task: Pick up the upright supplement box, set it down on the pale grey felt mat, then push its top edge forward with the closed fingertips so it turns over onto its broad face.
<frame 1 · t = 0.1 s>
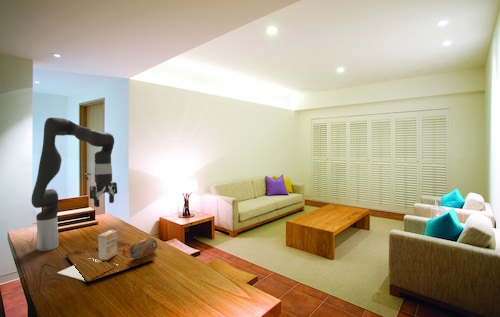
hand: (104, 204, 129), 29 cm above the table, fingers open, 8 cm apart
tin: (143, 256, 137), on the table
felt mat: (89, 269, 122), on the table
supplement box: (108, 257, 135), on the table
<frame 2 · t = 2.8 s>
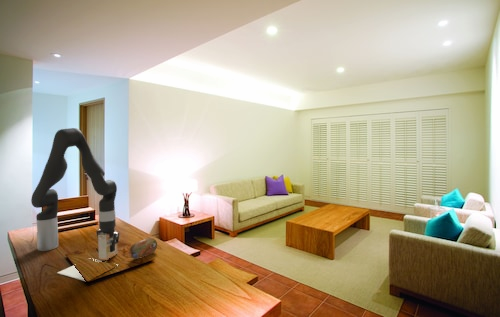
hand: (108, 250, 135), 3 cm above the table, fingers closed on supplement box, 5 cm apart
supplement box: (108, 257, 135), on the table, touching gripper
everything else where it was.
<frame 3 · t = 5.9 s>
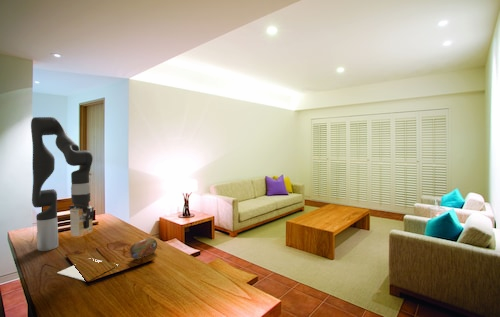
hand: (82, 227, 124), 19 cm above the table, fingers closed on supplement box, 5 cm apart
supplement box: (82, 234, 124), point 16 cm above the table, touching gripper
everything else where it was.
when the fingers open (5 cm above the table, at t = 8.8 s): supplement box stays where it is, resting on felt mat.
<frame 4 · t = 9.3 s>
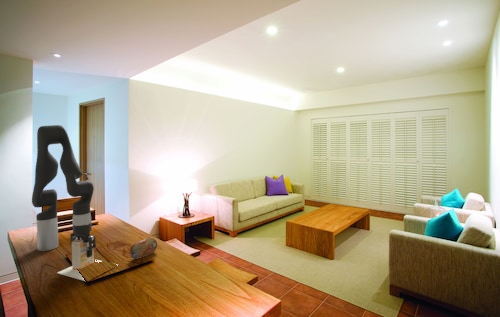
hand: (83, 255, 124), 5 cm above the table, fingers open, 8 cm apart
supplement box: (83, 266, 125), resting on felt mat
everything else where it was.
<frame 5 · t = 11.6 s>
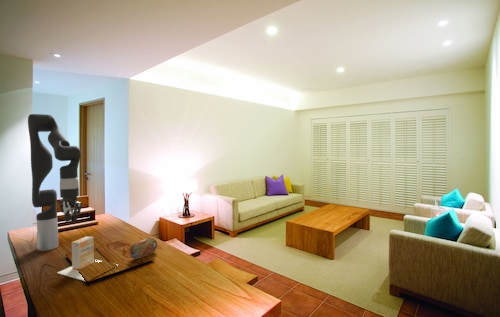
hand: (70, 221, 126), 21 cm above the table, fingers open, 4 cm apart
nothing on the table moved.
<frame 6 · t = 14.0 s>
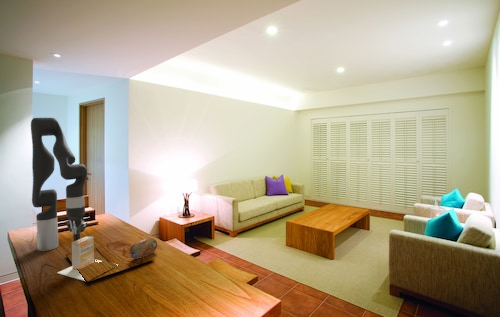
hand: (77, 240, 125), 12 cm above the table, fingers closed
supplement box: (83, 266, 125), resting on felt mat, touching gripper
everything else where it was.
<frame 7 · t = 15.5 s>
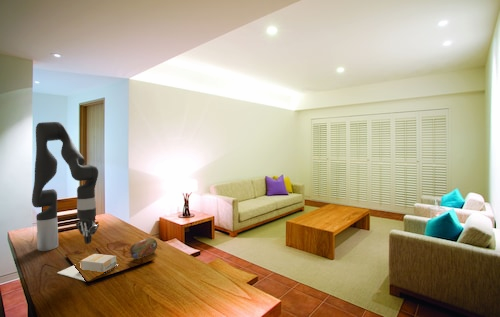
hand: (88, 243, 123), 12 cm above the table, fingers closed
supplement box: (87, 261, 124), point 3 cm above the table, touching felt mat
everything else where it was.
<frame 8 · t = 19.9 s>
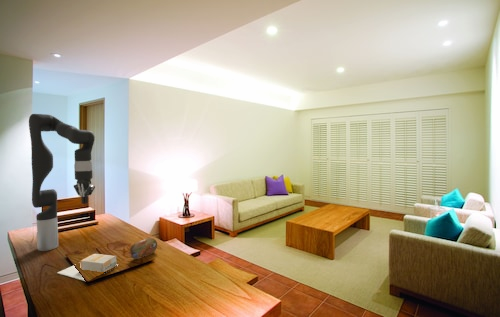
hand: (84, 203, 131), 29 cm above the table, fingers closed
nothing on the table moved.
at the end: supplement box tilted 90°; supplement box inside the target area (7.0 cm from its centre), point 2.7 cm above the table; the gripper is holding nothing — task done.
